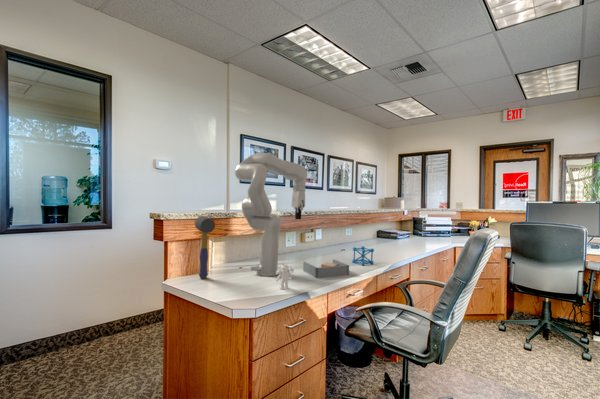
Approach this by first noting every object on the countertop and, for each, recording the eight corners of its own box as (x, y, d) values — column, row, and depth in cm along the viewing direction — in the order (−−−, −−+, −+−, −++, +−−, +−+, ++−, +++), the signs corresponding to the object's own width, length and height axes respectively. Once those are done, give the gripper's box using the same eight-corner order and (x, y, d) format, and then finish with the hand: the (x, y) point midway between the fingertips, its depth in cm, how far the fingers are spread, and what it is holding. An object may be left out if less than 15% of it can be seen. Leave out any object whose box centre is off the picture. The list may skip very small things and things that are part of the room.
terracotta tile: (332, 273, 167) (332, 266, 167) (321, 271, 171) (321, 264, 170) (337, 271, 173) (338, 264, 173) (326, 269, 176) (327, 262, 176)
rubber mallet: (214, 280, 146) (216, 217, 145) (198, 282, 142) (200, 217, 141) (207, 274, 156) (208, 215, 156) (192, 275, 152) (193, 215, 152)
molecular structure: (362, 261, 200) (362, 245, 199) (374, 264, 192) (374, 248, 191) (351, 262, 194) (351, 247, 194) (363, 266, 186) (363, 249, 185)
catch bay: (316, 277, 156) (316, 268, 156) (303, 270, 170) (303, 261, 170) (348, 274, 165) (349, 265, 165) (333, 267, 179) (334, 259, 178)
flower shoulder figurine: (278, 291, 133) (279, 264, 133) (273, 288, 136) (274, 262, 136) (294, 287, 139) (295, 261, 139) (289, 285, 142) (290, 259, 142)
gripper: (288, 188, 191) (287, 218, 191) (298, 188, 177) (297, 220, 178) (299, 189, 194) (298, 217, 194) (310, 189, 181) (309, 220, 181)
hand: (298, 219), depth 186 cm, fingers closed
